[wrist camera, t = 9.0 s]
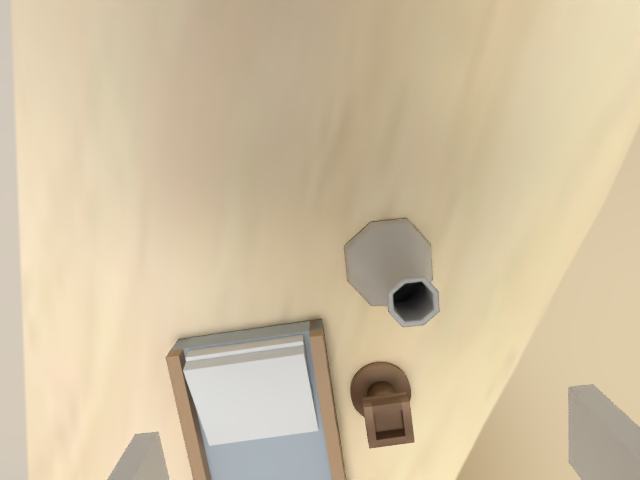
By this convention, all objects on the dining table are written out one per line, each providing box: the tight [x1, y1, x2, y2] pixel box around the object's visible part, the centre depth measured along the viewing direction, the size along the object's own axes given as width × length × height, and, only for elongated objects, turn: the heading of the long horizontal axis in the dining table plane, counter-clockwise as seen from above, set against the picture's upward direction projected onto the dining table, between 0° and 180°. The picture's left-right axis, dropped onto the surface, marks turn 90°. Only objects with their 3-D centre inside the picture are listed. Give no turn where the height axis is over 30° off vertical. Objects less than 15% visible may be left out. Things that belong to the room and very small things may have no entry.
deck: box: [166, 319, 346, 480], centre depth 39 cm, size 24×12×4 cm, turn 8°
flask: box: [344, 218, 440, 327], centre depth 33 cm, size 7×7×10 cm
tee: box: [351, 362, 414, 448], centre depth 37 cm, size 5×5×5 cm
